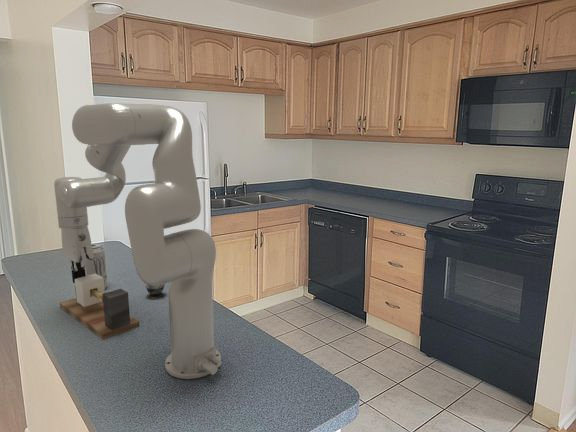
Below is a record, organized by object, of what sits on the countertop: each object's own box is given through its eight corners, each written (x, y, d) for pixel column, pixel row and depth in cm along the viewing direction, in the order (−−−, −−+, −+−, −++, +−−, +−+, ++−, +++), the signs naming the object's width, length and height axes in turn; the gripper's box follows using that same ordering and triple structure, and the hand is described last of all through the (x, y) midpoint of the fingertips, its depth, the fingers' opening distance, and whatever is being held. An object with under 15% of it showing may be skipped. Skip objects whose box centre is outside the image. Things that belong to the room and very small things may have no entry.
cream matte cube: (105, 300, 122) (103, 277, 121) (84, 306, 118) (82, 283, 116) (97, 295, 126) (95, 273, 124) (76, 301, 121) (74, 278, 120)
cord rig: (139, 326, 115) (136, 289, 112) (103, 339, 107) (99, 301, 105) (93, 297, 133) (90, 265, 131) (60, 307, 126) (56, 274, 123)
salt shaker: (159, 300, 131) (157, 263, 129) (142, 298, 132) (140, 262, 130) (168, 293, 137) (166, 258, 134) (152, 291, 138) (149, 256, 135)
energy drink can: (93, 294, 136) (89, 249, 132) (84, 289, 139) (80, 246, 136) (111, 288, 140) (107, 245, 137) (101, 284, 144) (97, 242, 141)
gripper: (98, 223, 117) (104, 285, 121) (76, 215, 127) (81, 273, 131) (70, 227, 111) (77, 292, 115) (49, 219, 121) (56, 279, 125)
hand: (79, 282), depth 123 cm, fingers closed
